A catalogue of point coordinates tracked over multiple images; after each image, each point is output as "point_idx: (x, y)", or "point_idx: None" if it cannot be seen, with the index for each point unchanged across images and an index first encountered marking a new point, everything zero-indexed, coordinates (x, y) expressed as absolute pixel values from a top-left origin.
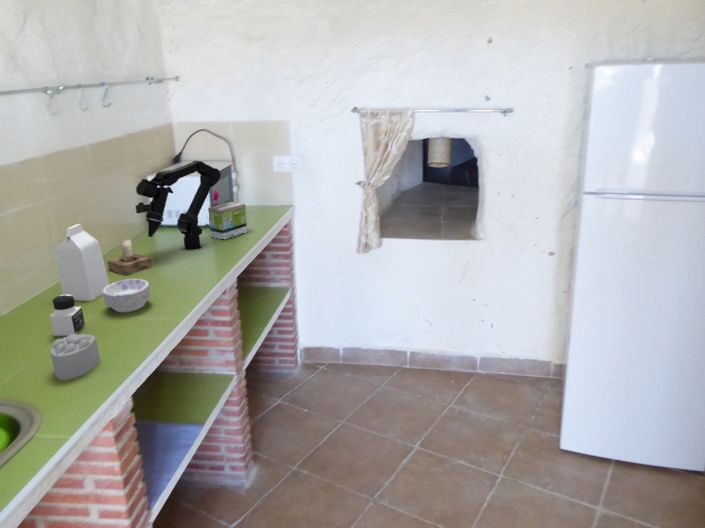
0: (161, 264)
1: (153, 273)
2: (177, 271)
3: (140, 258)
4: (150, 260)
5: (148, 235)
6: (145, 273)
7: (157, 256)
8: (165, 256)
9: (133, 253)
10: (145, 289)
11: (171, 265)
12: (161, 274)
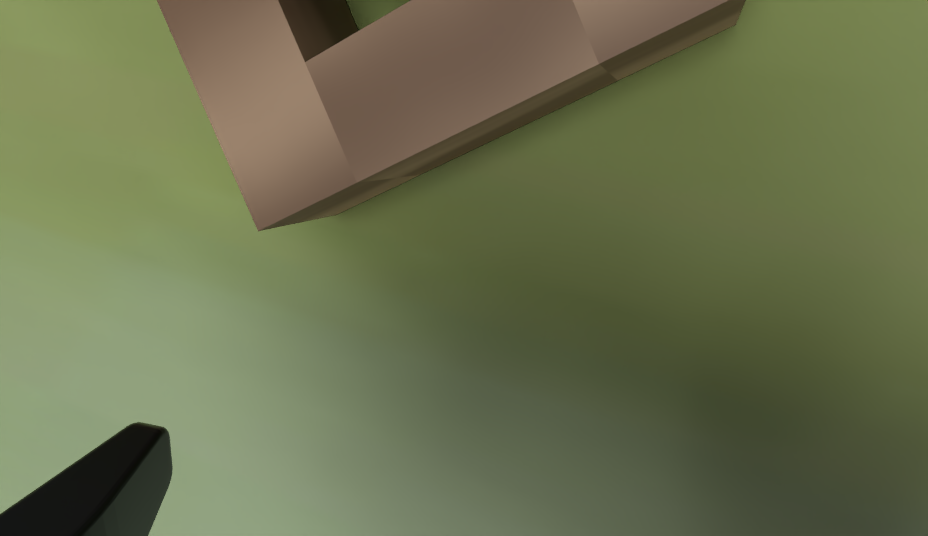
0: (363, 351)
1: (106, 174)
2: (59, 409)
3: (297, 78)
4: (286, 224)
5: (115, 437)
6: (145, 89)
7: (778, 430)
8: (688, 521)
9: (698, 3)
10: None
11: (263, 434)
12: (44, 242)
